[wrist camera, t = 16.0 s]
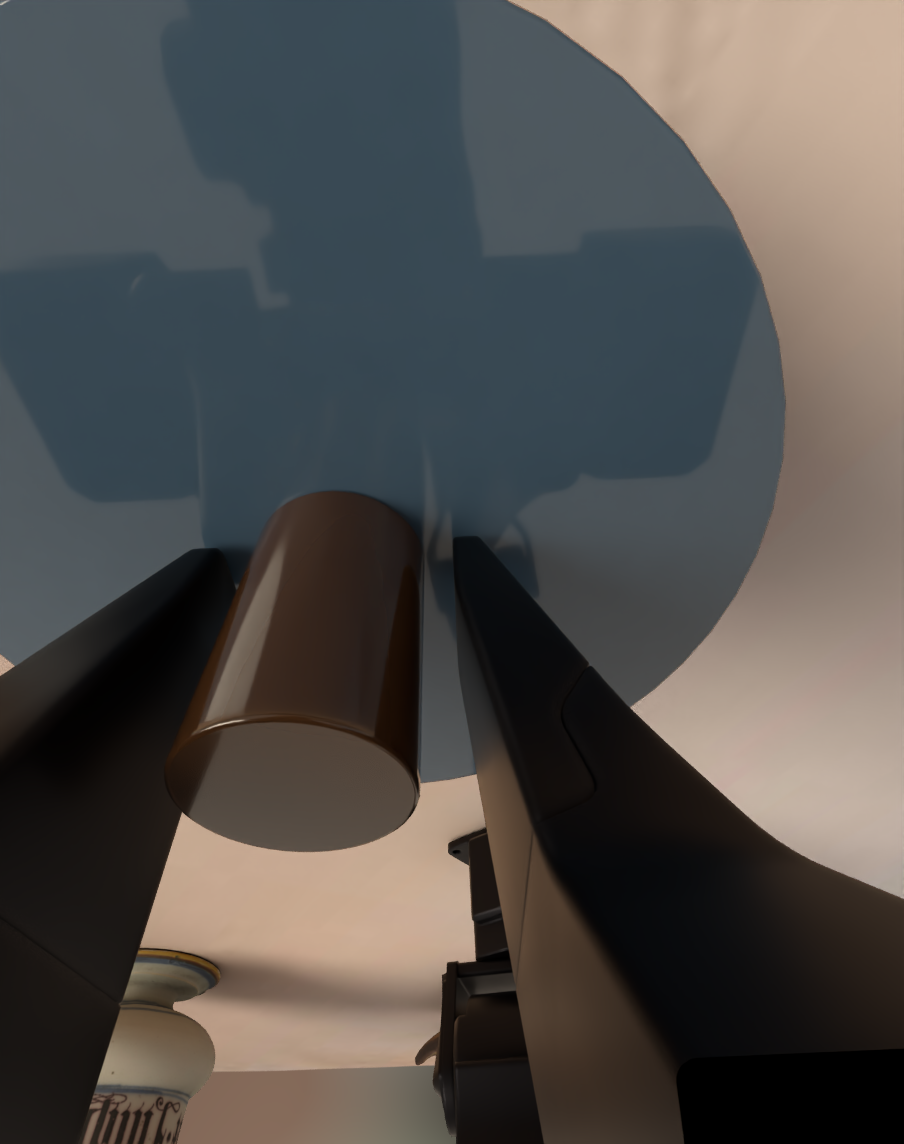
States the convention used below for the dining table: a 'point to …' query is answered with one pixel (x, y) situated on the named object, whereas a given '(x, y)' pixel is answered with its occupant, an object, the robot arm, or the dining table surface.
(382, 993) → the dining table surface
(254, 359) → the lid
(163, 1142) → the apothecary jar
